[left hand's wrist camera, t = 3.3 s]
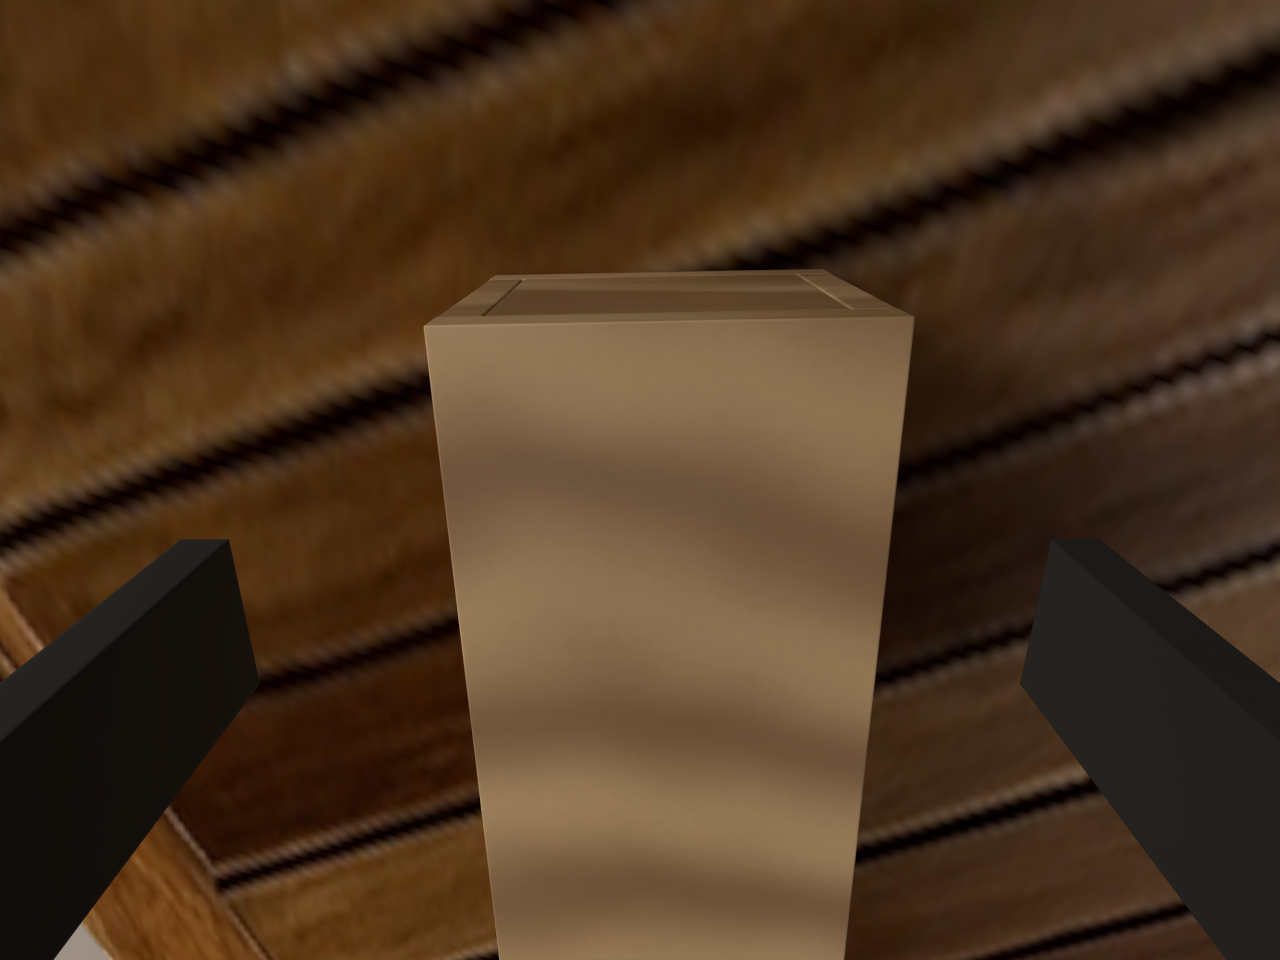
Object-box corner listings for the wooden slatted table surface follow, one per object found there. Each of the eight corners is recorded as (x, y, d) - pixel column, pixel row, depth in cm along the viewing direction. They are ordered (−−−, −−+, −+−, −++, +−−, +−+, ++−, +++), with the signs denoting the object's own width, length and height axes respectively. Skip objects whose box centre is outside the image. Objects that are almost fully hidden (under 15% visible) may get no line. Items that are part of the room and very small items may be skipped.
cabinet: (788, 812, 32) (837, 1024, 24) (540, 815, 32) (507, 1029, 24) (824, 269, 24) (916, 316, 16) (494, 275, 24) (422, 325, 16)
